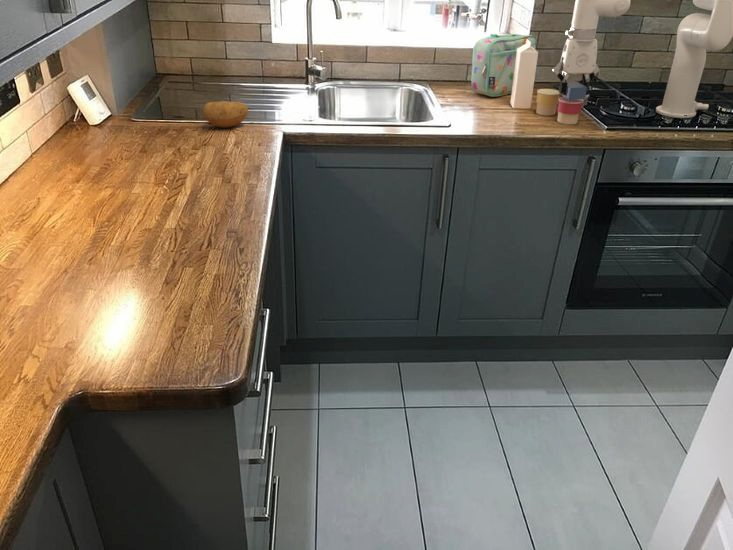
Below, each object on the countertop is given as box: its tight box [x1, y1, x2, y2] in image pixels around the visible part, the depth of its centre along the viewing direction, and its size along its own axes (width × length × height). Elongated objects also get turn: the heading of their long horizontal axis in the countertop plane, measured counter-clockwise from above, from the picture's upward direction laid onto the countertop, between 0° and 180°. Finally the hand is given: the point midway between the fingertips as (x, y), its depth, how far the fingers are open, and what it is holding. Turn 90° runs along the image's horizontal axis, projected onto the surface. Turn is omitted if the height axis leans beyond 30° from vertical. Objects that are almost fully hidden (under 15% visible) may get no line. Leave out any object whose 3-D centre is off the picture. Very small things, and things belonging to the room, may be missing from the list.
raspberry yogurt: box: [556, 97, 583, 125], centre depth 198 cm, size 8×8×7 cm
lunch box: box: [470, 33, 537, 98], centre depth 225 cm, size 27×10×21 cm, turn 127°
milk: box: [509, 39, 539, 109], centre depth 210 cm, size 6×6×22 cm
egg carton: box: [556, 94, 590, 109], centre depth 216 cm, size 11×8×4 cm
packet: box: [558, 80, 588, 99], centre depth 195 cm, size 6×8×4 cm
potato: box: [202, 100, 249, 129], centre depth 192 cm, size 10×14×8 cm
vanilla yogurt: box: [535, 88, 560, 117], centre depth 207 cm, size 8×8×7 cm
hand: (571, 93), depth 195 cm, fingers closed on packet, 5 cm apart
